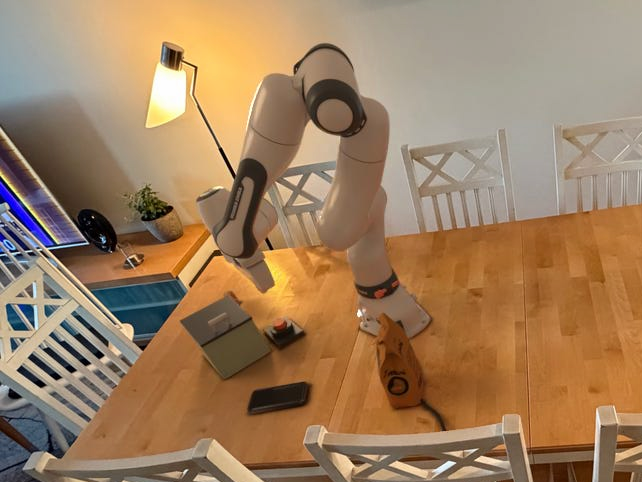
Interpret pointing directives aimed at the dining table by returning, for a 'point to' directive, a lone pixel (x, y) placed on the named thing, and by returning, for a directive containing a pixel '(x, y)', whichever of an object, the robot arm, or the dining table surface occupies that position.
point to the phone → (278, 397)
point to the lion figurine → (231, 296)
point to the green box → (235, 349)
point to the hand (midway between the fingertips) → (263, 291)
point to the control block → (284, 333)
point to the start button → (279, 324)
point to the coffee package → (397, 365)
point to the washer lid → (215, 320)
